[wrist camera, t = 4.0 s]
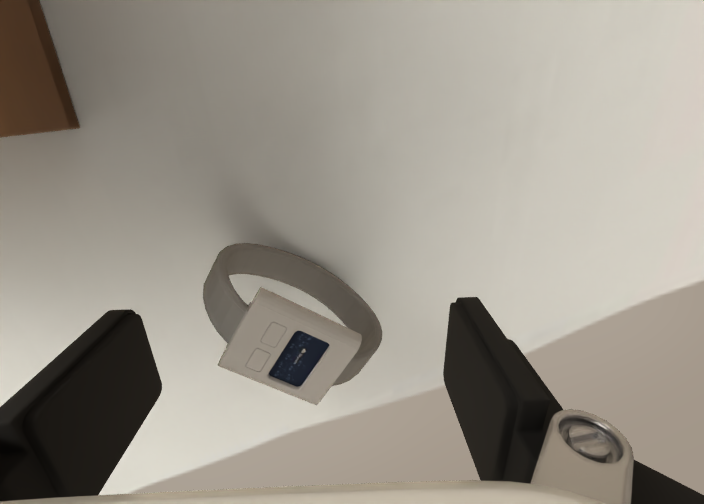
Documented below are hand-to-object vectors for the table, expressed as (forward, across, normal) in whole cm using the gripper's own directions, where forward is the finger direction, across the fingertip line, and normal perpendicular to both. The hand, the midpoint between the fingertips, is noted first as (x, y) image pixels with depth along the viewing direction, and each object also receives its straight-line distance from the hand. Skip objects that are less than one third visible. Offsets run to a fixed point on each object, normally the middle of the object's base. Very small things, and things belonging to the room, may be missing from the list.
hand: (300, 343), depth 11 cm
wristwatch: (+4, 0, 0) cm, 4 cm away
